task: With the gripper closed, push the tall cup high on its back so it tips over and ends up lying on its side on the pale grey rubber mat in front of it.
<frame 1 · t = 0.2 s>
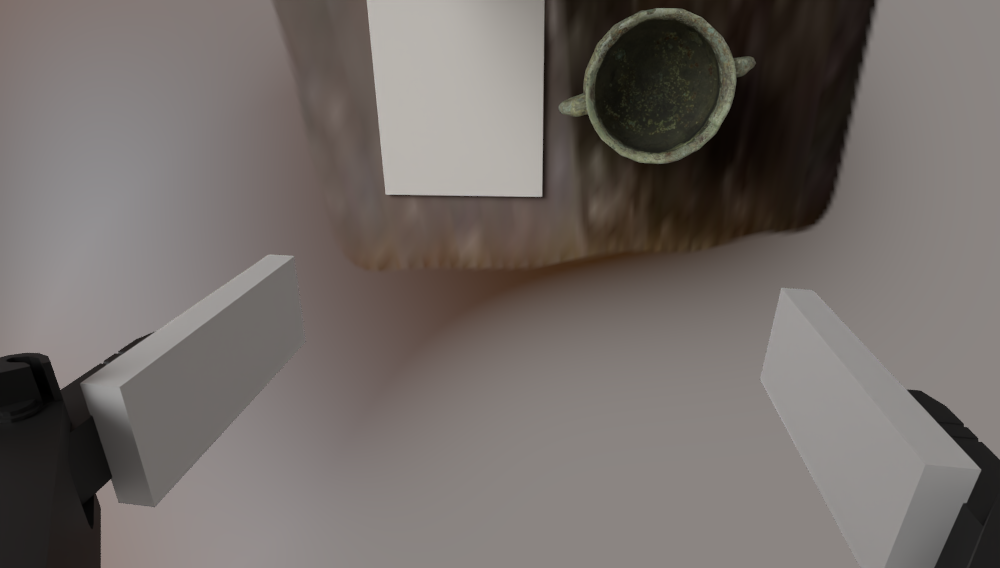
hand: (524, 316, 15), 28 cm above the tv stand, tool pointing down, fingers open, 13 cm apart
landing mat: (458, 83, 40), on the tv stand
vessel: (646, 82, 39), on the tv stand
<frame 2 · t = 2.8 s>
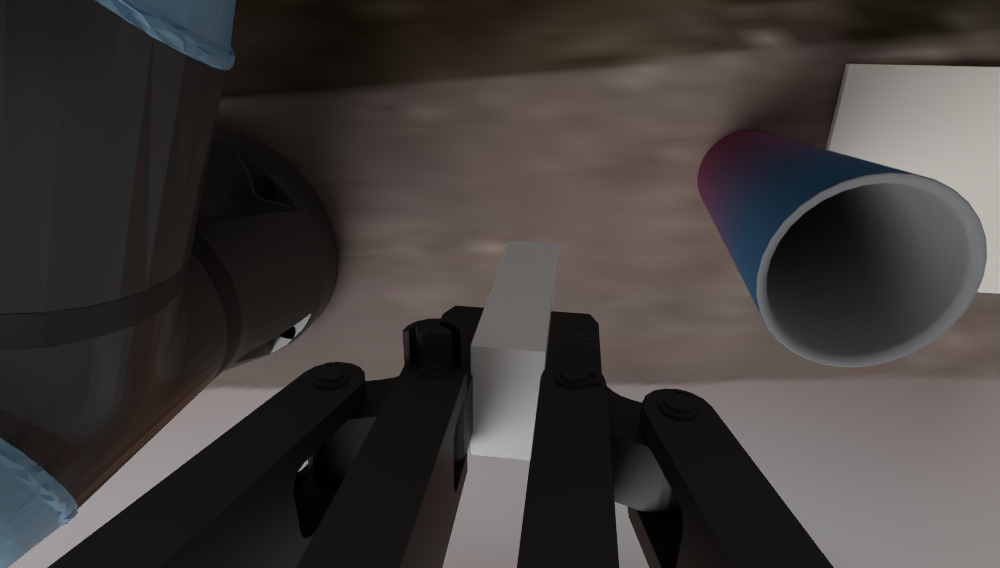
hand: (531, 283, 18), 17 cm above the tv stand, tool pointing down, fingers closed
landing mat: (973, 185, 31), on the tv stand
cup: (742, 175, 32), on the tv stand
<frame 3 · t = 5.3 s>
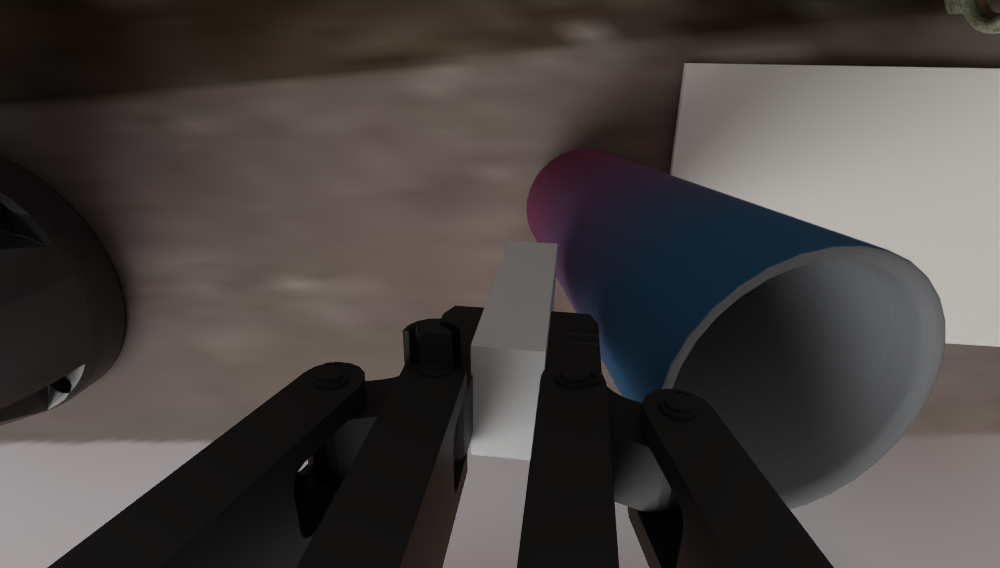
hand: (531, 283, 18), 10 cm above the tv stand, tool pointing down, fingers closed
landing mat: (850, 211, 25), on the tv stand
cup: (578, 203, 26), point 1 cm above the tv stand
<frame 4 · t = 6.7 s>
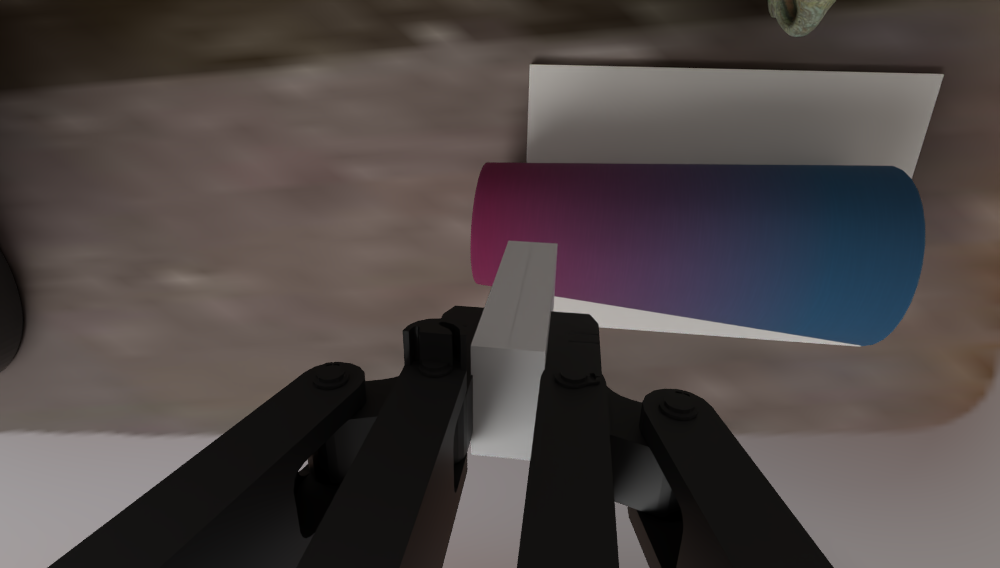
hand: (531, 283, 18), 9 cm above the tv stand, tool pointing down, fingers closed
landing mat: (703, 211, 25), on the tv stand
cup: (478, 223, 23), point 3 cm above the tv stand, touching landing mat
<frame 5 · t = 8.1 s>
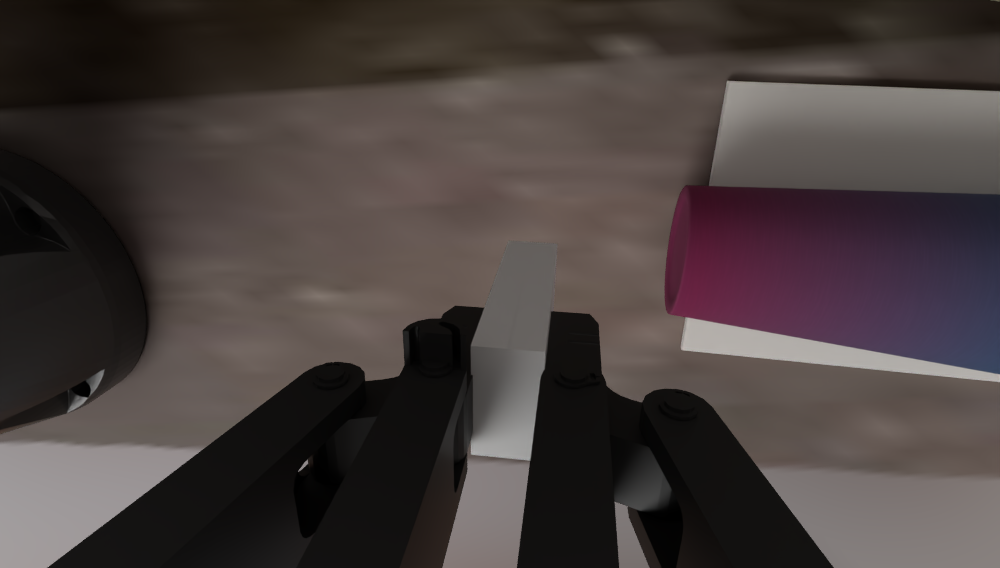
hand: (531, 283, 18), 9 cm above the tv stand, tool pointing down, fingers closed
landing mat: (899, 240, 24), on the tv stand
cup: (670, 249, 22), point 3 cm above the tv stand, touching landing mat
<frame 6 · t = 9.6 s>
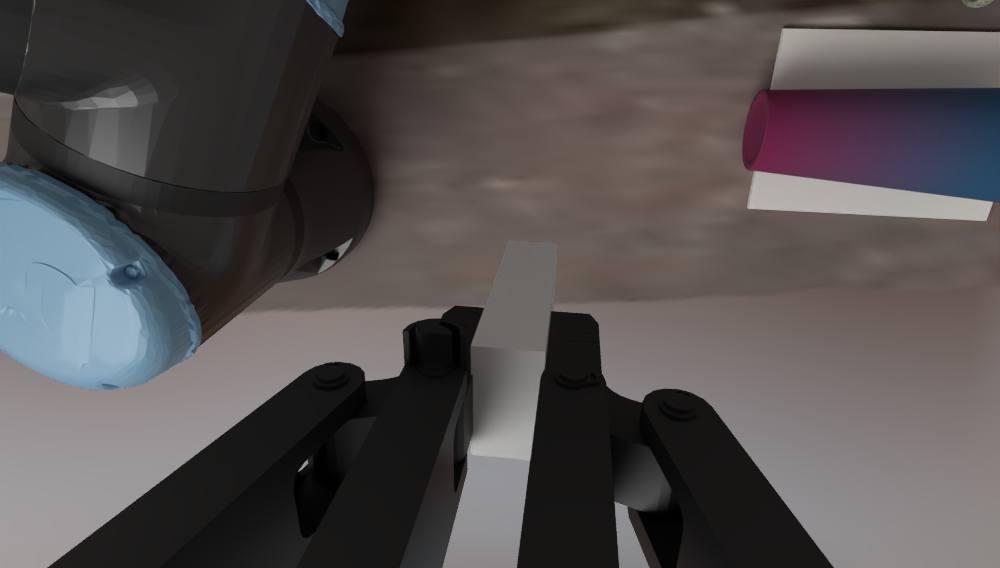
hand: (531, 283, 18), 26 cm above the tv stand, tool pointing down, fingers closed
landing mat: (886, 127, 38), on the tv stand
cup: (751, 130, 36), point 3 cm above the tv stand, touching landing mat
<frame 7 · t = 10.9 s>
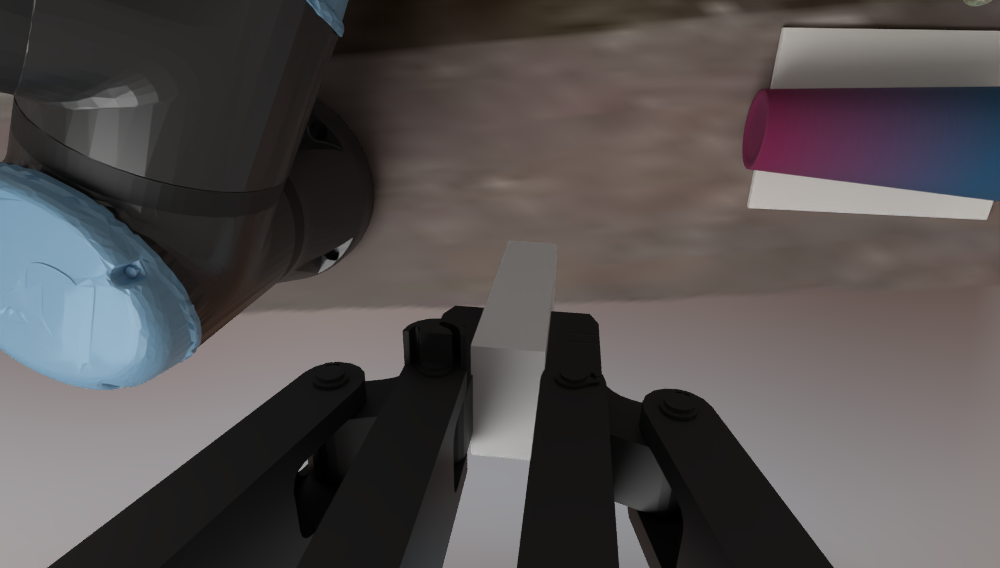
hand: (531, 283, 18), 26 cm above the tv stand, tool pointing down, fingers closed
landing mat: (886, 126, 38), on the tv stand
cup: (751, 129, 36), point 3 cm above the tv stand, touching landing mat
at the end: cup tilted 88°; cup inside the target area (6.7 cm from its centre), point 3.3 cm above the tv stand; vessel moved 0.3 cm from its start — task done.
